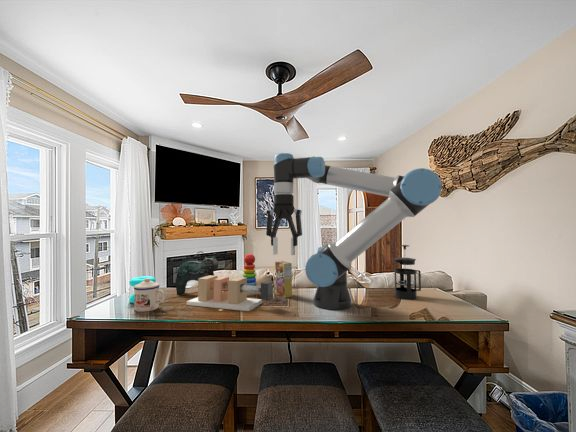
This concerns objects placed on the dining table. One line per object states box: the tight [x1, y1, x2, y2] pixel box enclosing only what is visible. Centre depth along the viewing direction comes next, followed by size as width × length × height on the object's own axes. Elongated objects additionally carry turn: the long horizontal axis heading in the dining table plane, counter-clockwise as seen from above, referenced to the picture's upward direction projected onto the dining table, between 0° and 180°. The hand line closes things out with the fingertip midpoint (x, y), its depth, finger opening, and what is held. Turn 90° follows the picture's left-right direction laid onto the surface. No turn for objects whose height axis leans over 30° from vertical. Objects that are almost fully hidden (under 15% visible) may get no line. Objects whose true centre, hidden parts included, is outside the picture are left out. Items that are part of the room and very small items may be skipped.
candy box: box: [274, 260, 293, 299], centre depth 134 cm, size 9×4×15 cm, turn 29°
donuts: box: [128, 275, 156, 304], centre depth 126 cm, size 10×10×10 cm
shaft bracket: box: [186, 275, 263, 312], centre depth 120 cm, size 28×12×10 cm, turn 71°
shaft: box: [222, 280, 274, 300], centre depth 117 cm, size 21×5×6 cm, turn 71°
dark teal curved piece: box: [175, 251, 219, 295], centre depth 138 cm, size 20×6×20 cm, turn 81°
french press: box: [394, 244, 422, 301], centre depth 130 cm, size 12×9×23 cm
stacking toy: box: [242, 253, 259, 297], centre depth 137 cm, size 8×8×19 cm
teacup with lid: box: [133, 278, 166, 313], centre depth 114 cm, size 12×9×12 cm
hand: (284, 254), depth 112 cm, fingers open, 6 cm apart
